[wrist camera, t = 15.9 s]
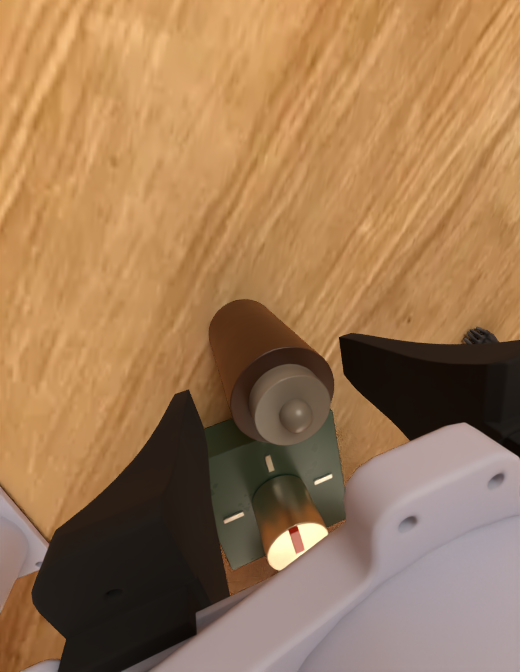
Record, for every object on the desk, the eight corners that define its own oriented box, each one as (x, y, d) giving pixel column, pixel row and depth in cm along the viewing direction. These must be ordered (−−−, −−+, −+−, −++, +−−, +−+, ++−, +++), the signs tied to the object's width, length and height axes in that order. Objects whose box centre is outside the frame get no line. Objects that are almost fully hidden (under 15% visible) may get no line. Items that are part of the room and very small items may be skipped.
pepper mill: (219, 372, 19) (256, 494, 10) (199, 311, 18) (223, 395, 9) (281, 351, 20) (364, 449, 11) (267, 290, 18) (353, 349, 9)
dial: (309, 504, 22) (336, 557, 18) (259, 526, 21) (276, 586, 17) (300, 466, 20) (326, 517, 16) (245, 489, 19) (260, 547, 16)
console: (226, 533, 25) (232, 573, 22) (183, 436, 20) (184, 470, 17) (331, 487, 26) (350, 519, 23) (313, 388, 22) (333, 412, 19)
